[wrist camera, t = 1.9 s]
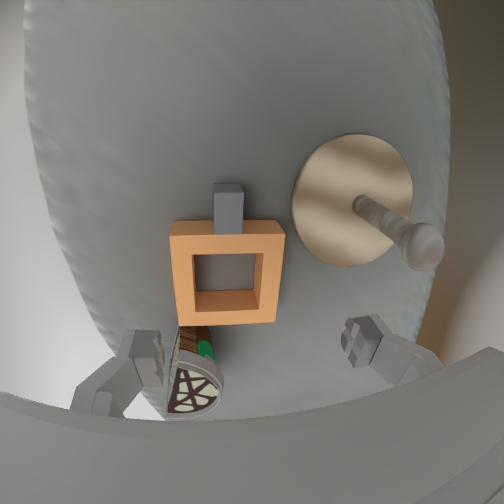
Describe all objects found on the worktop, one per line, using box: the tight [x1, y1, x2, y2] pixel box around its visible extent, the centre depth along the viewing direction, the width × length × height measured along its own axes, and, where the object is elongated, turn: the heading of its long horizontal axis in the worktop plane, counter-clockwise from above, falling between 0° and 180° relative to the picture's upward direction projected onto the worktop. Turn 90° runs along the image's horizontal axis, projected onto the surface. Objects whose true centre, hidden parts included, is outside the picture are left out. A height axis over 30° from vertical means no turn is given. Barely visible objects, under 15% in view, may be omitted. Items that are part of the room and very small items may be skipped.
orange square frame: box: [170, 183, 285, 326], centre depth 29 cm, size 15×11×4 cm
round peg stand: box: [291, 134, 445, 271], centre depth 24 cm, size 16×16×14 cm
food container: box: [166, 322, 224, 419], centre depth 32 cm, size 12×6×10 cm, turn 161°
